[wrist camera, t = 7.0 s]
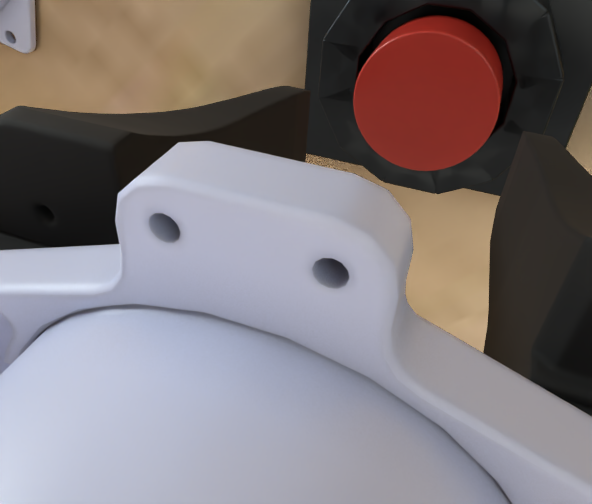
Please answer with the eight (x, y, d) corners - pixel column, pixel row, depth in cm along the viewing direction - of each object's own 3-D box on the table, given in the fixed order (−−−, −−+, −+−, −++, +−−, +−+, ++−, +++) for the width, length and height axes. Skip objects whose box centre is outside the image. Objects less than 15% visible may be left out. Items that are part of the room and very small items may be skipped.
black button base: (309, 140, 22) (283, 174, 19) (327, -95, 17) (295, -85, 14) (542, 189, 19) (543, 234, 17) (642, -62, 15) (662, -44, 12)
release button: (359, 133, 18) (345, 156, 16) (377, 5, 15) (362, 19, 14) (481, 158, 17) (477, 185, 16) (522, 26, 14) (520, 44, 13)
